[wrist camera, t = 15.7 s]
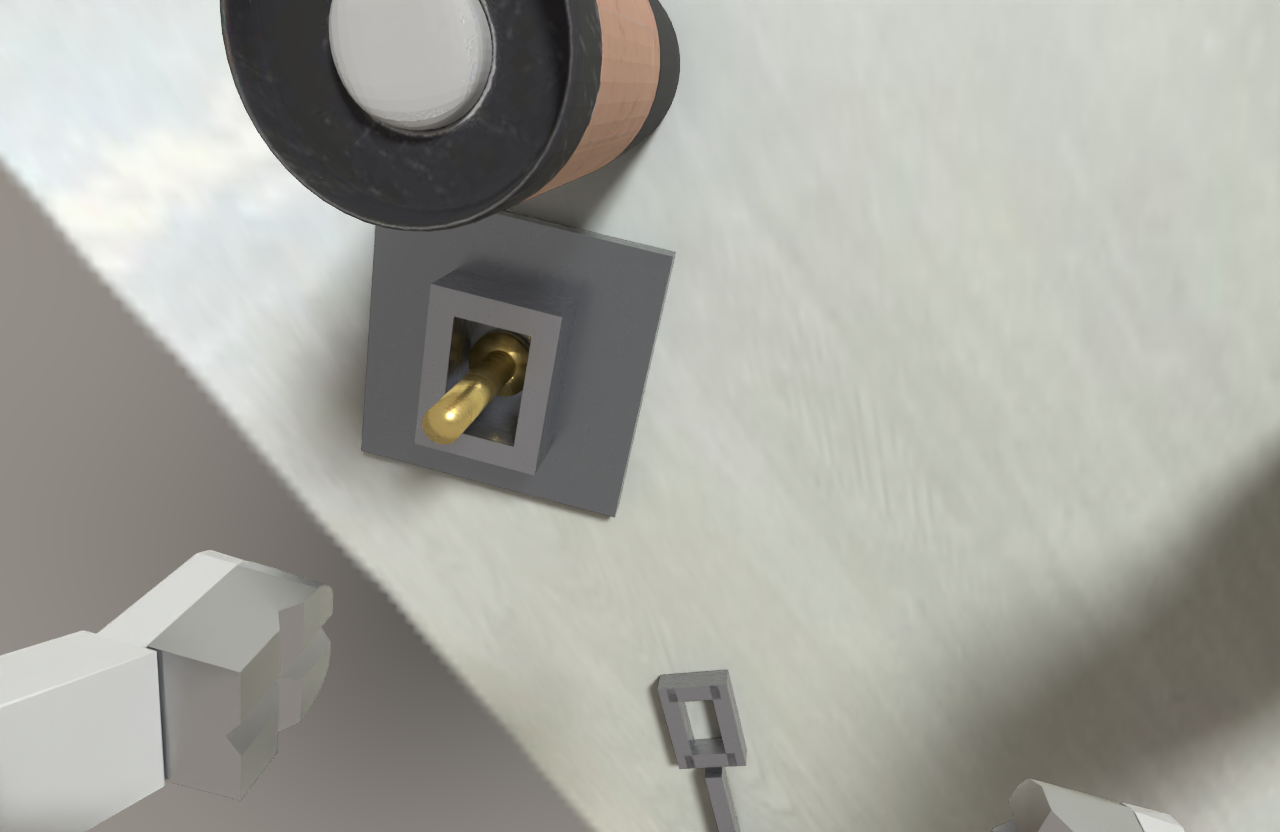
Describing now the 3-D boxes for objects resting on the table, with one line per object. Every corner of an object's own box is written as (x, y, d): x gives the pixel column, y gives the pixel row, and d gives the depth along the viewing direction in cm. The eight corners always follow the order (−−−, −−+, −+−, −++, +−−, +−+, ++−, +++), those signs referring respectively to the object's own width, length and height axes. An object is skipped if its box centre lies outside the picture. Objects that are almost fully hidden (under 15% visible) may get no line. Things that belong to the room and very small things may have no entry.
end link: (577, 300, 37) (562, 317, 34) (550, 448, 40) (534, 475, 37) (456, 269, 37) (430, 283, 34) (438, 419, 40) (414, 443, 38)
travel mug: (667, 175, 35) (552, 273, 17) (502, 139, 35) (217, 197, 17) (705, -17, 32) (614, -154, 14) (523, -53, 32) (202, -231, 14)
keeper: (675, 252, 36) (647, 301, 28) (618, 507, 42) (580, 610, 34) (388, 182, 37) (278, 210, 29) (370, 442, 43) (274, 527, 35)
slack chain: (736, 669, 45) (733, 720, 41) (785, 881, 51) (786, 943, 47) (652, 675, 46) (641, 726, 42) (709, 882, 52) (704, 942, 48)
